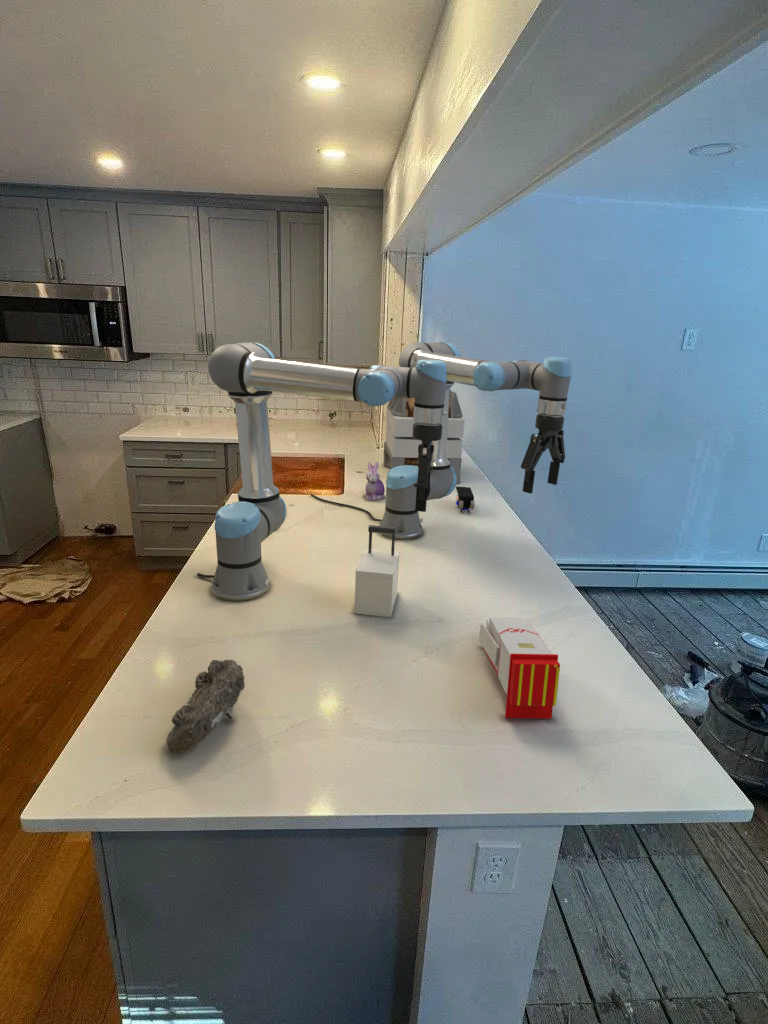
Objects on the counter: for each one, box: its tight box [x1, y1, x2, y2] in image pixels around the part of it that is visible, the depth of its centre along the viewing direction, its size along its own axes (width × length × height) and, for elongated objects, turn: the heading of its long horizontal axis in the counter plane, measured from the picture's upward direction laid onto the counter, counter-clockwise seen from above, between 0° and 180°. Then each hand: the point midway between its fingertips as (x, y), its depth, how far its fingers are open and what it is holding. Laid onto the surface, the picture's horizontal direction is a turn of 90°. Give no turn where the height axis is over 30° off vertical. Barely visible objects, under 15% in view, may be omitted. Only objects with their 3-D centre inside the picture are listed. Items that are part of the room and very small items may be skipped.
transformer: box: [383, 388, 465, 484], centre depth 268 cm, size 34×33×41 cm
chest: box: [353, 559, 400, 618], centre depth 151 cm, size 13×10×11 cm
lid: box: [355, 524, 401, 579], centre depth 148 cm, size 14×10×9 cm
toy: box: [478, 616, 561, 720], centre depth 122 cm, size 12×13×30 cm
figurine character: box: [455, 485, 476, 514], centre depth 227 cm, size 7×8×15 cm
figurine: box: [364, 461, 386, 501], centre depth 234 cm, size 9×10×15 cm
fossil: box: [166, 658, 245, 754], centre depth 106 cm, size 22×10×15 cm
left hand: (422, 502), depth 151 cm, fingers open, 13 cm apart
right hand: (540, 488), depth 164 cm, fingers open, 13 cm apart
